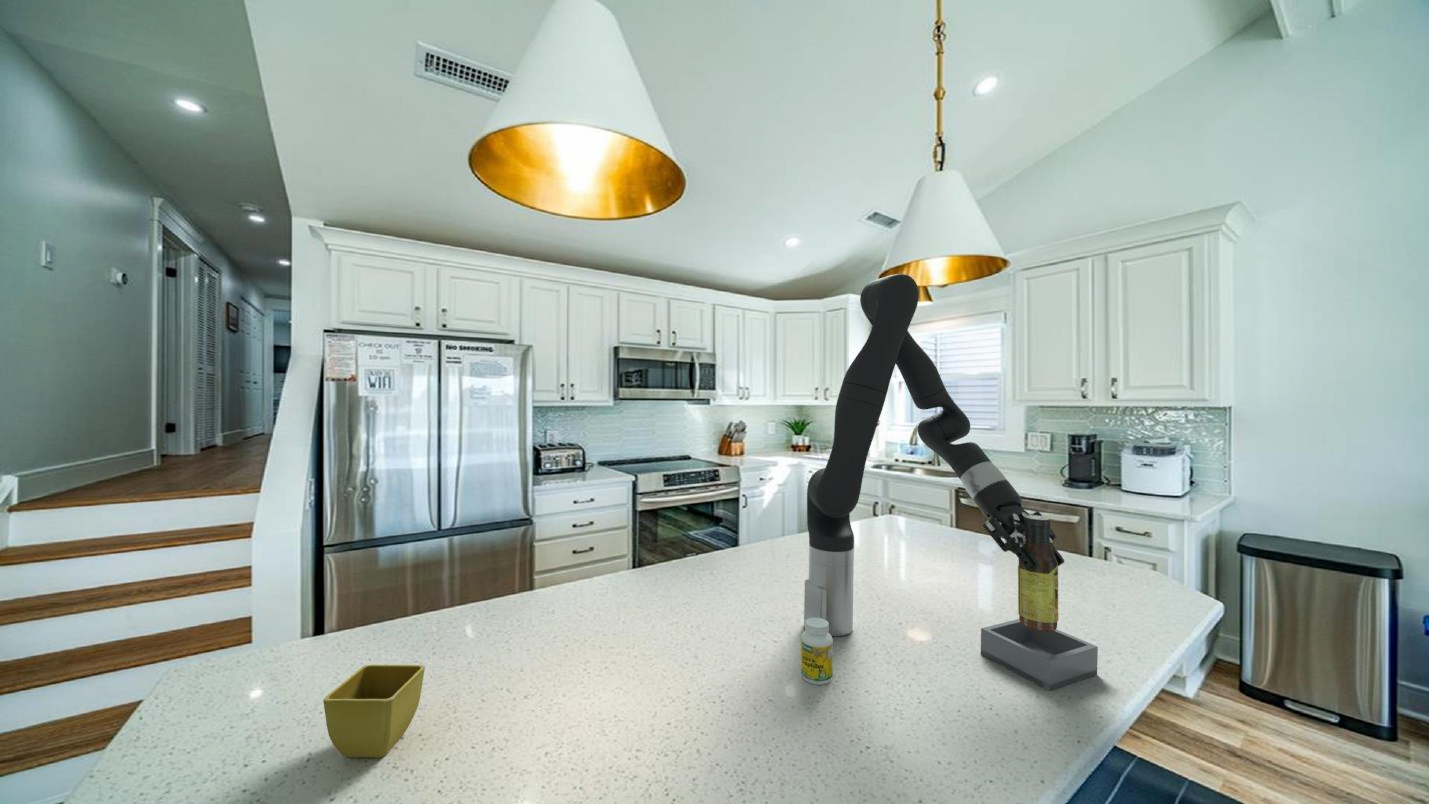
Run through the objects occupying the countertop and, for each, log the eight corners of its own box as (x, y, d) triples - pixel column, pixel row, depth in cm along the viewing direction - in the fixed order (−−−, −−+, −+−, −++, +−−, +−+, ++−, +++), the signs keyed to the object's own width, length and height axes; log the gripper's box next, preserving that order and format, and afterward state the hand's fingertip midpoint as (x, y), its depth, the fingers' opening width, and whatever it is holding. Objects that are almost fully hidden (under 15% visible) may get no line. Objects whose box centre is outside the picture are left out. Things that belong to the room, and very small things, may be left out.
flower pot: (426, 725, 74) (426, 663, 74) (390, 768, 66) (390, 699, 66) (364, 725, 74) (365, 664, 74) (320, 769, 65) (320, 700, 65)
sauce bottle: (1064, 635, 90) (1066, 523, 89) (1025, 632, 91) (1026, 521, 90) (1048, 619, 96) (1050, 514, 96) (1012, 616, 97) (1013, 512, 97)
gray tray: (1049, 691, 85) (1049, 661, 85) (980, 654, 97) (981, 628, 97) (1097, 674, 90) (1097, 646, 90) (1026, 641, 102) (1026, 617, 102)
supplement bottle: (836, 674, 89) (837, 619, 89) (827, 689, 85) (827, 632, 85) (806, 666, 92) (807, 613, 92) (796, 680, 87) (797, 624, 87)
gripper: (976, 481, 97) (1036, 562, 86) (1026, 476, 103) (1089, 552, 92) (952, 503, 102) (1006, 582, 91) (1002, 497, 108) (1058, 571, 97)
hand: (1047, 566), depth 92 cm, fingers closed on sauce bottle, 6 cm apart
